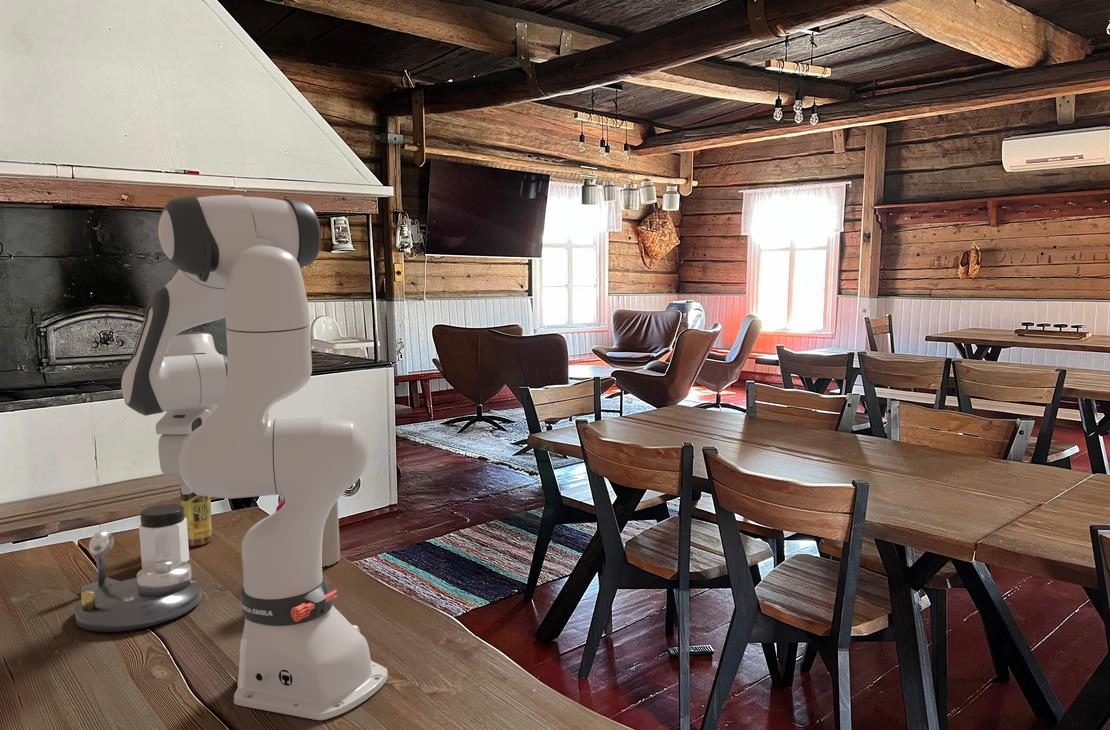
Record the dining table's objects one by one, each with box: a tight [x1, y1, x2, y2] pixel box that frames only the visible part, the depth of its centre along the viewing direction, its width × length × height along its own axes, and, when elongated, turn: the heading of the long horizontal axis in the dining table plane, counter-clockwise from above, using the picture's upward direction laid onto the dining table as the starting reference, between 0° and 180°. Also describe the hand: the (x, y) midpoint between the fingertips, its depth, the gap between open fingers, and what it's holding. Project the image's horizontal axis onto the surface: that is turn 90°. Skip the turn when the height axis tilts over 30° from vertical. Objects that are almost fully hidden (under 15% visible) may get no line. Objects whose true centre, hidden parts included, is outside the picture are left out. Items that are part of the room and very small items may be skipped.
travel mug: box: [322, 499, 341, 568], centre depth 159 cm, size 8×8×18 cm
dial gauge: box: [81, 531, 121, 593], centre depth 145 cm, size 7×5×12 cm
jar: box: [138, 503, 190, 570], centre depth 159 cm, size 9×8×12 cm
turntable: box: [74, 577, 202, 633], centre depth 138 cm, size 20×20×5 cm
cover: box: [136, 559, 193, 596], centre depth 142 cm, size 9×9×4 cm
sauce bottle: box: [179, 488, 213, 547], centre depth 172 cm, size 6×6×20 cm
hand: (200, 485), depth 148 cm, fingers open, 8 cm apart
